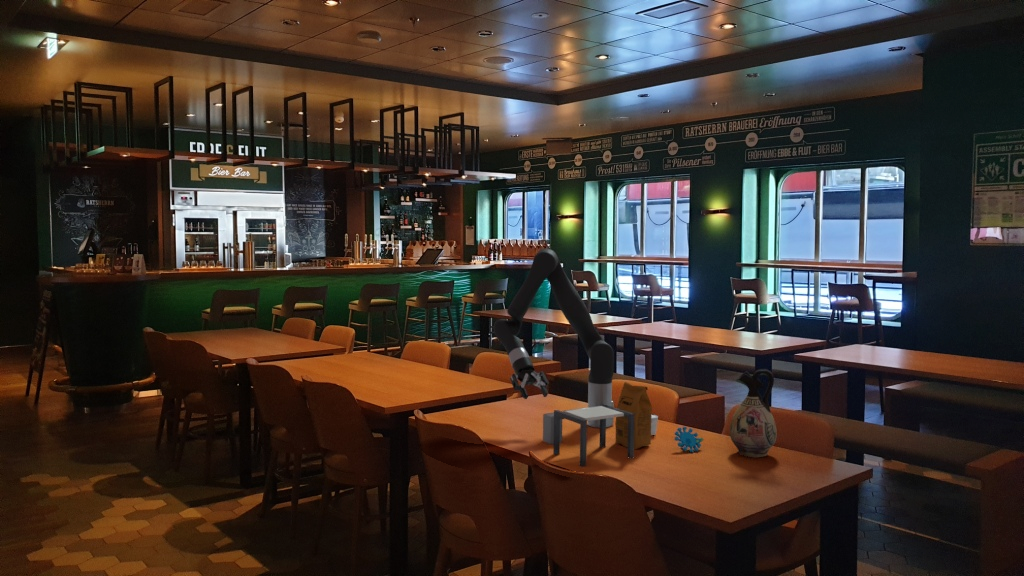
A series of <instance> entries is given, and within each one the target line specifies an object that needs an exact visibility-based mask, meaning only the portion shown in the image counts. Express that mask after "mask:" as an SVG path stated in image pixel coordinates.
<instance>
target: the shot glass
mask: <svg viewBox="0 0 1024 576" xmlns="http://www.w3.org/2000/svg"><path fill="white" fill-rule="evenodd" d="M658 419H659V415H656V414H652V413H651V435H655V434H656V435H657V429H658ZM656 435H655V436H656Z"/></svg>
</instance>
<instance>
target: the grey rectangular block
mask: <svg viewBox="0 0 1024 576" xmlns="http://www.w3.org/2000/svg"><path fill="white" fill-rule="evenodd" d="M542 442H544V443H546V444H549V445H553V444H554V412H547V413H543V414H542ZM561 443H563V419H560V444H561Z"/></svg>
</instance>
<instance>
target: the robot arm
mask: <svg viewBox="0 0 1024 576" xmlns="http://www.w3.org/2000/svg"><path fill="white" fill-rule="evenodd" d="M546 280H547V281H548V283H549V285H550V287H551V289H552V292H553V294H554V297H555V301H556V303H557V305H558V307H559V310H560V311H561V312H562V314H563V316H564V317H565V319H566V320H567V323H569V325H570V326H571V329H573V330H574V332H575V333H576V335H577V336H578V337H579V339H580V341H581V343H582V346H583V348H584V350H585V352H586V354H587V356H588V358H589V360H590V364H589V365H590V367H589V369H590V370H589V374H588V379H587V380H588V381H587V382H588V385H587V387H588V388H587V390H588V393H587V398H588V399H587V408H589V407H597V406H600V405H602V404H604V405H608V406H611V407H614V408H615V406H614V403H615V402H614V400H613V398H612V395H613V392H612V391H613V376H614V367H615V352H614V349H613V347H612V346H611V345H610V344H609V343H607V342H606V341H605V340H604V338H602V336H601V334H599V332H598V330H597V328H596V327H595V325H594V322H593V319H592V317H591V314H590V312H589V309H588V307H587V306H586V304H585V302H584V300H583V298H582V297H581V296H580V294H579V292H578V291H577V289H576V288H575V286H574V285H573V283H572V282H571V280H570V279H569V278H568V275H567V274H566V272H565V271H564V268H563V266H562V263H561V262H560V259H559V257H558V255H557V254H556V252H555V251H554V250H552V249H551V248H542V249H539V250H538V252H536V253H535V255H534V257H533V260H532V264H531V267H530V270H529V272H528V275H527V276H526V278H525V280H524V282H523V284H522V285H521V287H520V288H519V289H518V290H517V293H516V294H515V295H514V297H513V299H512V300H511V303H510V304H509V306H508V308H507V314H508V315H509V316H510V320H508V319H505V318H504V319H503V318H499V319H497V320H496V321H495V322H494V323H493V332H494V335H495V337H496V338H497V340H498V341H499V342H500V344H501V345H502V346H503V348H504V349H505V351H506V354H507V355H508V359H509V361H510V365H511V367H512V369H513V371H514V373H512V374H511V376H510V381H511V385H512V387H513V391H518V392H520V395H521V397H522V398H523V399H524V400H527V399H528V398H529V394H528V391H527V389H526V387H525V386H530V385H531V386H535V387H537V388H539V389H540V391H541V394H542V395H543V398H547V396H548V394H549V392H548V389H547V386H549V380H548V379H547V377H546V375H545V373H544V371H540V372H536V371H535V366H534V364H533V362H532V360H531V357H530V356H529V353H528V351H527V350H526V348H525V346H524V344H523V342H522V340H521V338H519V337H517V336H518V335H519V333H520V331H521V328H522V324H523V320H524V318H525V317H524V316H525V315H526V314H527V312H528V310H529V308H530V306H531V305H532V303H533V301H534V299H535V298H536V295H537V293H538V292H539V289H540V288H541V286H542V285H543V283H544V282H545V281H546ZM519 382H520V384H519ZM587 426H589V427H592V428H599V429H600V419H598V420H591V421H587ZM611 426H614V417H613V418H606V428H610V427H611Z"/></svg>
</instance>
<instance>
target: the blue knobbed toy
mask: <svg viewBox="0 0 1024 576" xmlns="http://www.w3.org/2000/svg"><path fill="white" fill-rule="evenodd" d="M687 429H688V428H687V427H686V426H683V427H678V428H677V430H676V431H675V432H674V435H675V436H674V441H676V442H677V446H678V447H679V448H681V447H683V448H682V450H683V451H684V452H686V451H687V450H688V448H689V450H688V452H689V451H690V452H689V453H691V452H692V453H694V452H695V451H696V452H698V451H699V448H701V447H702V444H701V443H702V442H703V441H704V438H703V437H698V436H699V434H698V433H697V432H694V433H693V431H694V430H693V428H689V429H688V431H687ZM682 430H683V431H682ZM693 448H694V449H693Z"/></svg>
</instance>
